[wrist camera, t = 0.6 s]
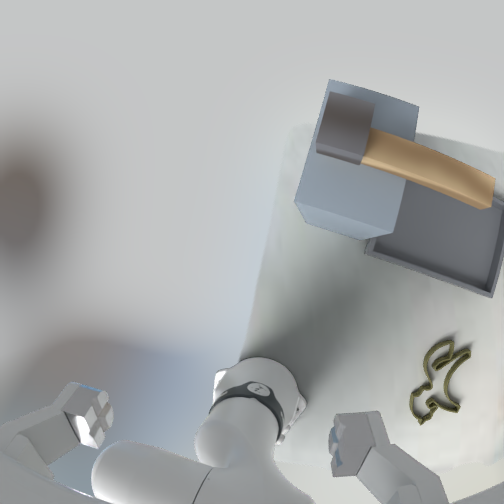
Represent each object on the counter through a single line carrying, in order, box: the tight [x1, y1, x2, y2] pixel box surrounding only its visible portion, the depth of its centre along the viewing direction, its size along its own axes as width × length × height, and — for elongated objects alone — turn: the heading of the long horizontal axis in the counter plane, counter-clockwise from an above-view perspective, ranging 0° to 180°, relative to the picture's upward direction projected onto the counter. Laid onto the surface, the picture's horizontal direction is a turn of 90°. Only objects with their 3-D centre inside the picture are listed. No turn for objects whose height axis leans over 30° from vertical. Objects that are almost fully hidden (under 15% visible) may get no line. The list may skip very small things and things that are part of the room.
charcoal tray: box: [364, 179, 504, 298], centre depth 48 cm, size 18×27×4 cm, turn 73°
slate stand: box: [294, 79, 419, 240], centre depth 41 cm, size 14×10×26 cm
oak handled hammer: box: [316, 91, 495, 210], centre depth 24 cm, size 5×18×6 cm, turn 73°
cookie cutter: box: [410, 340, 471, 425], centre depth 49 cm, size 18×12×2 cm, turn 0°
